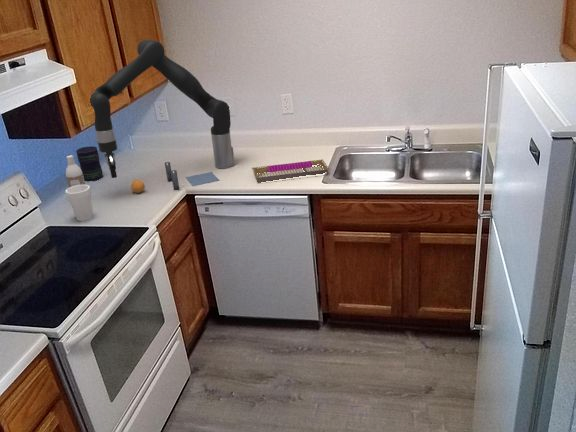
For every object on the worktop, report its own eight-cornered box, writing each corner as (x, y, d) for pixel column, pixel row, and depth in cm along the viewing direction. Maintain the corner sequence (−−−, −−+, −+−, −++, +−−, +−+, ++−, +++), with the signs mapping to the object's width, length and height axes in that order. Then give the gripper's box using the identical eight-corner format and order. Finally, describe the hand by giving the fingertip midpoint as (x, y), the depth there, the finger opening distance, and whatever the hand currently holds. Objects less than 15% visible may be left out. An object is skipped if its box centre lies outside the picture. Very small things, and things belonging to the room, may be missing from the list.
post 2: (178, 188, 241) (175, 169, 238) (180, 189, 239) (177, 171, 235) (173, 189, 241) (170, 170, 237) (174, 191, 238) (171, 172, 235)
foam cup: (76, 214, 222) (69, 185, 216) (98, 212, 222) (92, 183, 217) (70, 223, 213) (62, 194, 208) (93, 221, 214) (86, 192, 208)
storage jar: (107, 177, 261) (100, 148, 254) (89, 183, 254) (82, 154, 248) (97, 173, 267) (90, 145, 261) (79, 179, 261) (72, 150, 254)
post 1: (172, 179, 252) (169, 161, 249) (173, 180, 250) (170, 163, 246) (167, 180, 252) (163, 162, 248) (168, 182, 249) (165, 164, 245)
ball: (144, 188, 243) (142, 176, 241) (146, 193, 238) (144, 180, 236) (131, 191, 241) (128, 179, 239) (133, 195, 236) (130, 183, 234)
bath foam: (71, 202, 234) (60, 159, 226) (73, 196, 240) (62, 154, 232) (87, 199, 235) (76, 157, 227) (89, 194, 242) (79, 152, 233)
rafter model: (323, 166, 257) (322, 154, 255) (330, 176, 245) (329, 163, 242) (252, 174, 253) (251, 162, 250) (255, 185, 240) (254, 172, 237)
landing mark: (211, 172, 258) (211, 171, 258) (219, 180, 247) (219, 180, 247) (185, 177, 253) (185, 177, 253) (192, 186, 243) (192, 185, 243)
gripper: (117, 141, 221) (125, 180, 228) (113, 134, 232) (120, 171, 240) (99, 145, 218) (107, 183, 226) (95, 137, 230) (103, 174, 237)
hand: (114, 177), depth 233 cm, fingers closed
